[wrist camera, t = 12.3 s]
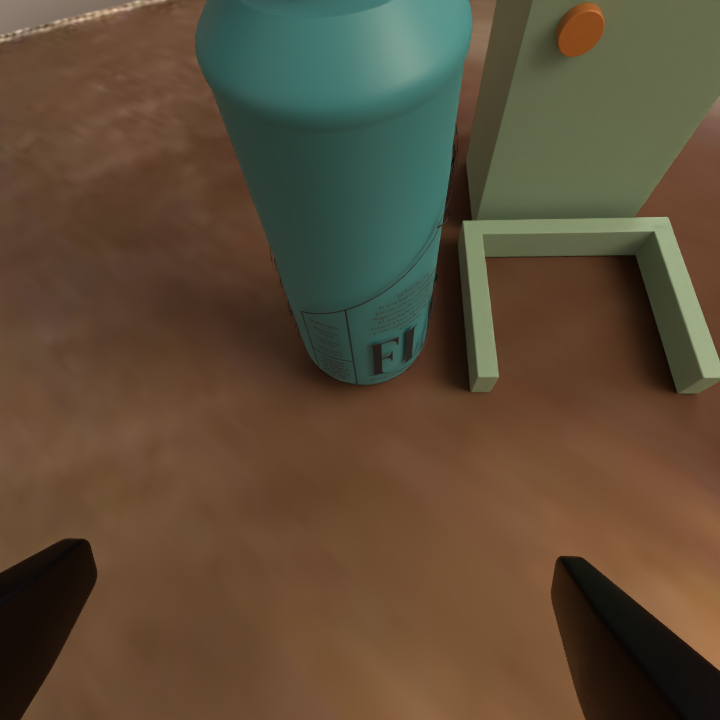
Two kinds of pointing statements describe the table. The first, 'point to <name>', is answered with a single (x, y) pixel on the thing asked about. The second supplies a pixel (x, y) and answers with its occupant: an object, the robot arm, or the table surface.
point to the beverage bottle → (345, 159)
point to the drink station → (588, 154)
